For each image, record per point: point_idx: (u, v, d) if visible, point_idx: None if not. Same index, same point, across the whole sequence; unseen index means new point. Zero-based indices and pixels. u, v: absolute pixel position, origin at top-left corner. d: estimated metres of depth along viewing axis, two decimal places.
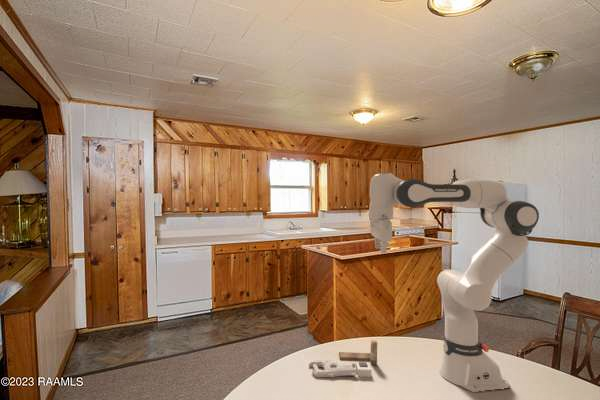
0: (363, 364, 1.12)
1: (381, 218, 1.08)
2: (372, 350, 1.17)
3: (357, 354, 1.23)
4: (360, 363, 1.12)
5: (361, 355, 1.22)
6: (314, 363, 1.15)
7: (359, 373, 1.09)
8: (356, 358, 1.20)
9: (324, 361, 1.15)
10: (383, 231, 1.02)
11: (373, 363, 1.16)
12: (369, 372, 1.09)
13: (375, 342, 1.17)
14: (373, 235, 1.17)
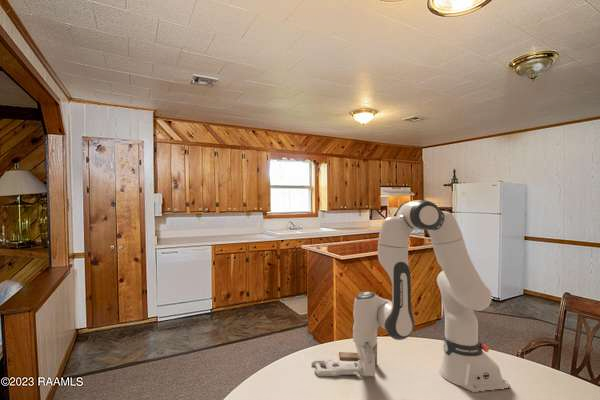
0: None
1: (364, 345, 1.04)
2: None
3: (357, 354, 1.23)
4: None
5: None
6: (316, 362, 1.16)
7: (361, 371, 1.10)
8: (356, 358, 1.20)
9: (326, 360, 1.16)
10: (366, 366, 0.98)
11: None
12: None
13: None
14: None
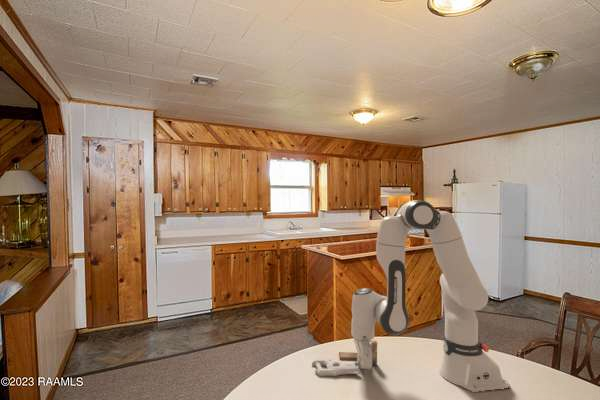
0: None
1: (362, 339, 1.09)
2: (372, 350, 1.17)
3: None
4: None
5: None
6: (317, 362, 1.16)
7: (359, 364, 1.14)
8: (356, 358, 1.20)
9: (327, 360, 1.16)
10: (363, 358, 1.03)
11: (373, 363, 1.16)
12: None
13: (375, 342, 1.17)
14: None
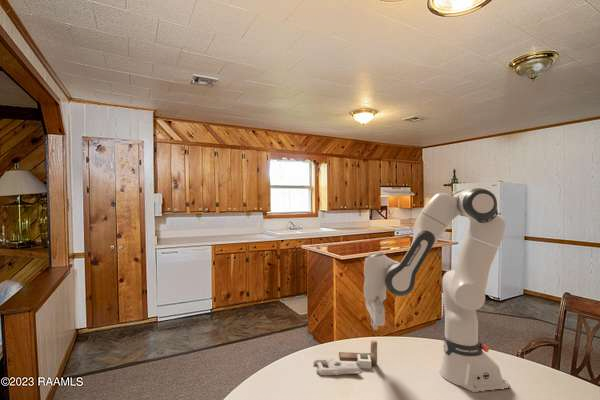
0: (364, 356, 1.17)
1: (374, 299, 1.13)
2: (372, 350, 1.17)
3: None
4: (361, 355, 1.18)
5: None
6: (319, 361, 1.16)
7: None
8: (356, 358, 1.20)
9: (328, 359, 1.17)
10: (376, 316, 1.08)
11: (373, 363, 1.16)
12: (369, 364, 1.14)
13: (375, 342, 1.17)
14: None
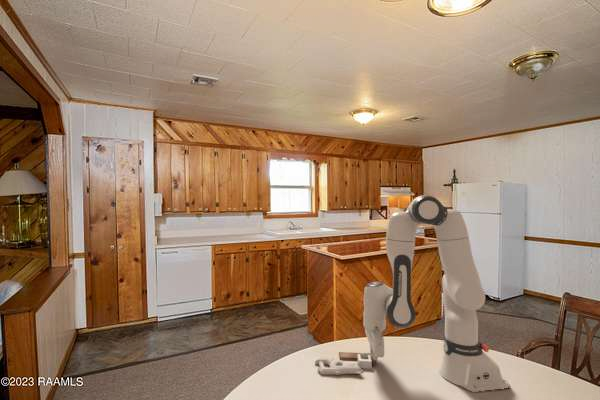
0: (364, 356, 1.17)
1: (374, 330, 1.13)
2: None
3: (357, 354, 1.23)
4: (361, 355, 1.18)
5: None
6: (320, 360, 1.17)
7: None
8: (356, 358, 1.20)
9: (330, 359, 1.17)
10: (376, 348, 1.08)
11: (373, 363, 1.16)
12: (369, 364, 1.14)
13: None
14: (367, 338, 1.22)
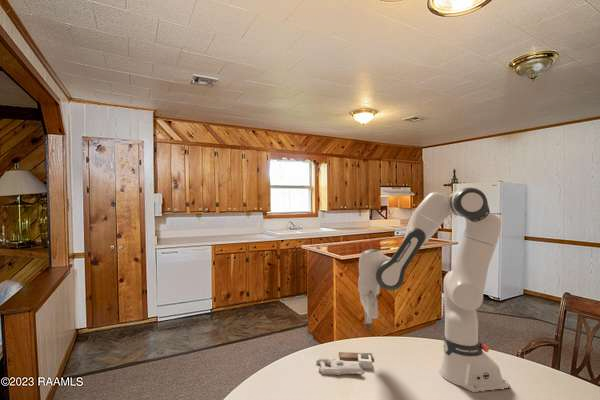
0: (364, 356, 1.17)
1: (368, 294, 1.18)
2: (366, 314, 1.21)
3: (357, 354, 1.23)
4: (362, 355, 1.18)
5: None
6: (321, 360, 1.17)
7: None
8: (356, 358, 1.20)
9: (331, 359, 1.17)
10: (369, 309, 1.13)
11: (367, 326, 1.21)
12: (369, 364, 1.14)
13: None
14: (362, 304, 1.27)
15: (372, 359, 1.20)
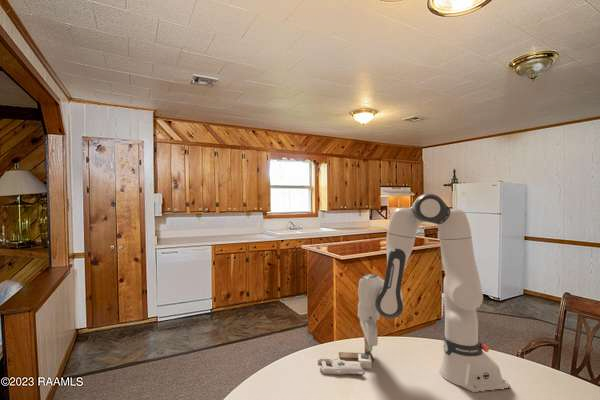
0: (364, 356, 1.17)
1: (368, 320, 1.18)
2: (366, 341, 1.21)
3: (357, 354, 1.23)
4: (362, 355, 1.18)
5: None
6: (323, 360, 1.17)
7: None
8: (356, 358, 1.20)
9: (333, 359, 1.17)
10: (369, 336, 1.12)
11: (367, 354, 1.21)
12: (369, 364, 1.14)
13: None
14: (362, 328, 1.27)
15: (372, 359, 1.20)
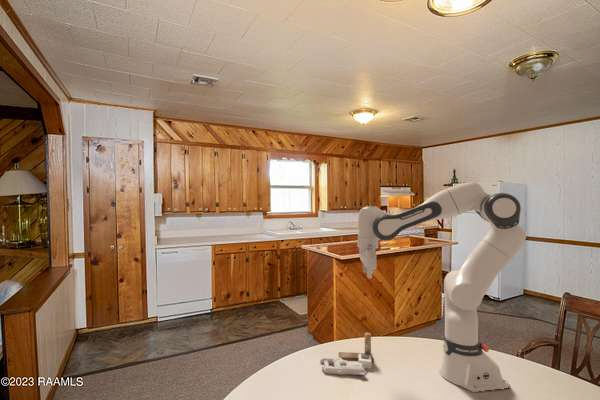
0: (365, 356, 1.17)
1: (367, 247, 1.22)
2: (366, 342, 1.21)
3: (357, 354, 1.23)
4: (362, 355, 1.18)
5: None
6: (325, 359, 1.17)
7: None
8: (356, 358, 1.20)
9: (335, 358, 1.17)
10: (368, 260, 1.16)
11: (367, 354, 1.21)
12: (369, 364, 1.14)
13: (369, 334, 1.22)
14: (361, 260, 1.31)
15: (372, 359, 1.20)
